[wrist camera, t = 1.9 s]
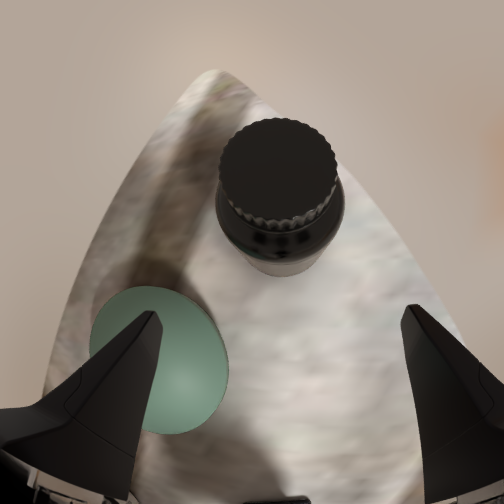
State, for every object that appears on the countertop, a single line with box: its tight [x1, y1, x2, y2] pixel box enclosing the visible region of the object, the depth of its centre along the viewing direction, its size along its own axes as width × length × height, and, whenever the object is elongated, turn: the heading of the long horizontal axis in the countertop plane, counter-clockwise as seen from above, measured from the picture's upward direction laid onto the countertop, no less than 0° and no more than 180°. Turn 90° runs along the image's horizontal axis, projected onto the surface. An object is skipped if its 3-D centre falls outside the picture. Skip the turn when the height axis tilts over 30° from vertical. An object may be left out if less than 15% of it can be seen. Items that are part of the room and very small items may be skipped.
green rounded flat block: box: [89, 286, 229, 434], centre depth 20 cm, size 12×12×3 cm
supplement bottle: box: [216, 118, 345, 277], centre depth 16 cm, size 7×7×12 cm
